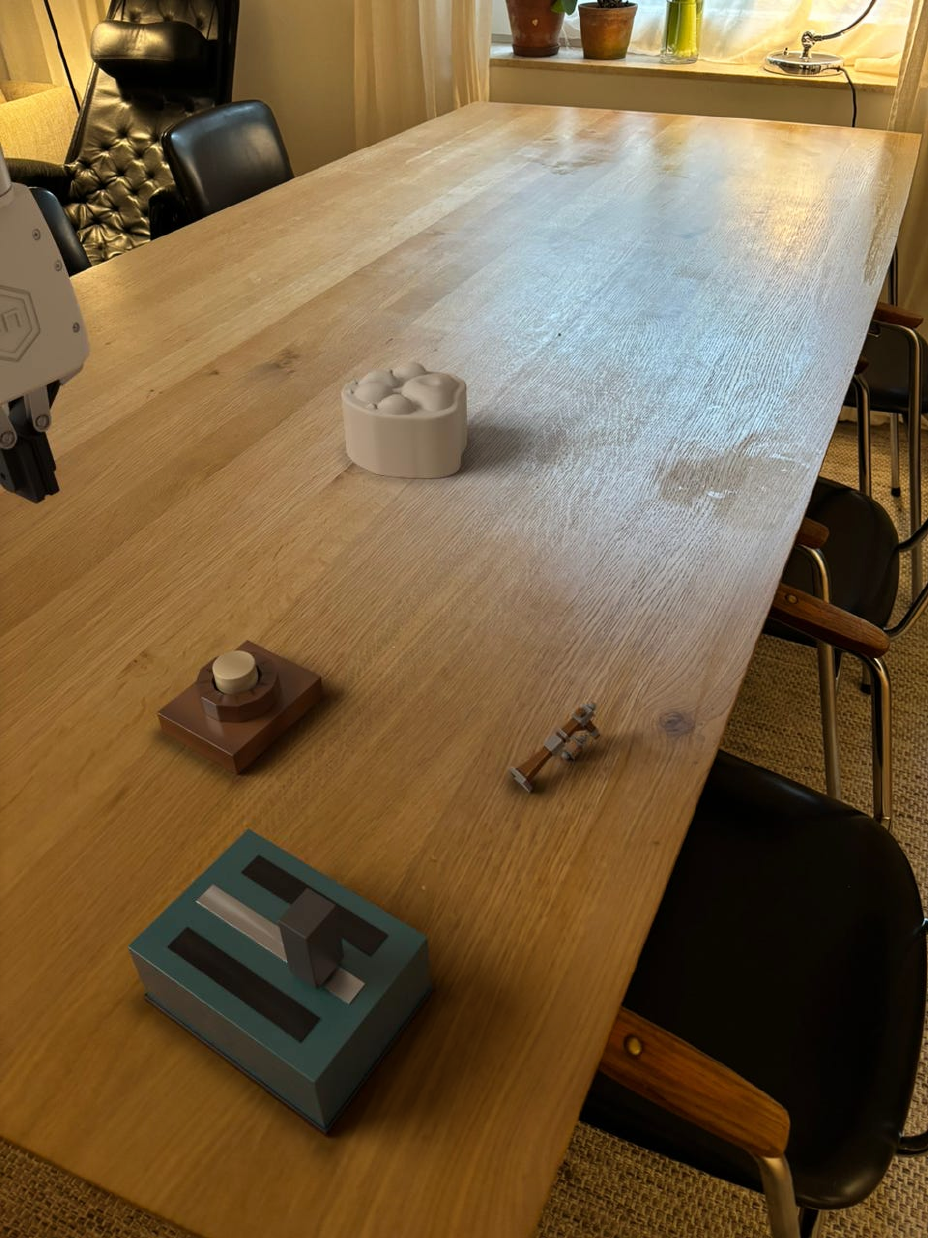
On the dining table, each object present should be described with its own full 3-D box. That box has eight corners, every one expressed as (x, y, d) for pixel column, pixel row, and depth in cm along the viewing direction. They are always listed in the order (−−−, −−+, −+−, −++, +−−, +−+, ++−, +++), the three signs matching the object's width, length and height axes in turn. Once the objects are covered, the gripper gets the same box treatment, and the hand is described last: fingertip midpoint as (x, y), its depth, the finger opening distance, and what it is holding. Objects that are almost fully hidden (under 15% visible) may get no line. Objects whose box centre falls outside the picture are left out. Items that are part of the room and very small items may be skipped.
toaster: (326, 1138, 54) (314, 1088, 50) (144, 1001, 60) (120, 946, 56) (436, 990, 61) (433, 935, 57) (261, 879, 67) (247, 823, 63)
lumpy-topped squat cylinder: (455, 481, 104) (454, 407, 98) (335, 472, 106) (327, 398, 100) (471, 431, 112) (470, 360, 106) (358, 423, 113) (352, 353, 108)
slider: (317, 990, 54) (306, 939, 51) (289, 972, 55) (276, 920, 51) (345, 957, 55) (336, 905, 52) (317, 939, 56) (307, 887, 53)
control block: (237, 775, 74) (228, 739, 71) (162, 732, 77) (151, 695, 75) (324, 695, 80) (318, 659, 78) (251, 658, 84) (243, 623, 81)
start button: (238, 701, 75) (234, 684, 74) (207, 685, 76) (203, 668, 75) (267, 676, 77) (263, 660, 76) (236, 661, 78) (233, 644, 77)
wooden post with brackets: (614, 732, 75) (600, 704, 72) (539, 806, 74) (521, 782, 71) (598, 718, 77) (583, 690, 73) (524, 791, 75) (505, 766, 72)
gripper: (-182, 231, 42) (-39, 573, 54) (98, 150, 52) (168, 456, 64) (-269, 201, 46) (-116, 530, 58) (9, 130, 55) (91, 425, 67)
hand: (33, 490), depth 61 cm, fingers closed
